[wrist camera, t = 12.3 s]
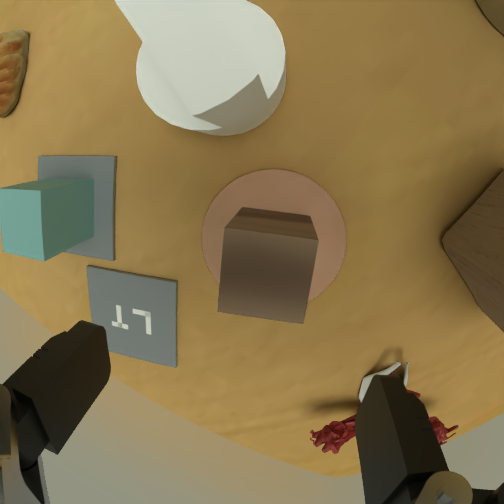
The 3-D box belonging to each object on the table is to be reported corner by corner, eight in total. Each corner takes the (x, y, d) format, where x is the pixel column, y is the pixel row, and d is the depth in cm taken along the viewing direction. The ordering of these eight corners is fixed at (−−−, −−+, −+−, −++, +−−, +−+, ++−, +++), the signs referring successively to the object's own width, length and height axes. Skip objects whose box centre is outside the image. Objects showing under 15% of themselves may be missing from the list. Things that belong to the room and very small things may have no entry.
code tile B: (41, 156, 25) (38, 156, 24) (116, 156, 24) (114, 156, 24) (43, 246, 28) (40, 247, 27) (115, 259, 27) (113, 261, 27)
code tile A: (89, 264, 27) (86, 266, 27) (177, 280, 27) (176, 282, 26) (97, 345, 30) (95, 347, 30) (177, 365, 30) (176, 367, 29)
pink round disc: (209, 161, 24) (207, 161, 23) (355, 180, 23) (357, 181, 22) (199, 295, 27) (198, 298, 26) (330, 313, 26) (331, 317, 26)
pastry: (31, 105, 24) (5, 103, 20) (-6, 125, 25) (-31, 126, 21) (33, 27, 21) (10, 20, 17) (-4, 53, 22) (-27, 49, 18)
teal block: (52, 177, 25) (-2, 188, 18) (93, 179, 25) (40, 190, 18) (53, 230, 26) (3, 251, 20) (93, 236, 26) (44, 261, 19)
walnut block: (242, 206, 24) (224, 227, 17) (310, 215, 23) (318, 240, 17) (236, 270, 25) (217, 311, 19) (299, 279, 25) (303, 323, 18)
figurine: (462, 346, 26) (491, 386, 20) (424, 427, 29) (439, 469, 23) (320, 343, 27) (326, 392, 21) (300, 430, 31) (300, 478, 24)
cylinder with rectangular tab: (309, 96, 21) (329, 43, 10) (207, 159, 24) (136, 165, 12) (245, 9, 20) (212, -81, 8) (149, 70, 22) (58, 26, 10)
